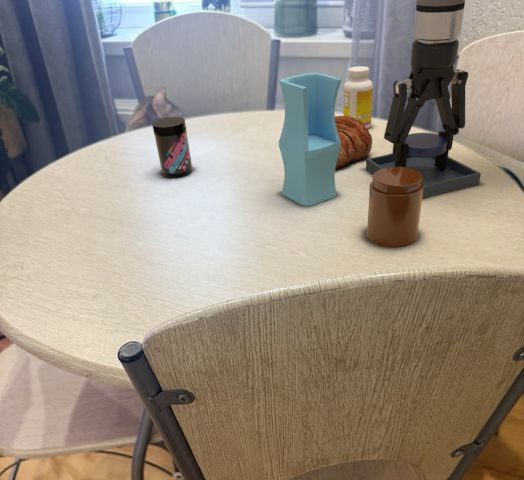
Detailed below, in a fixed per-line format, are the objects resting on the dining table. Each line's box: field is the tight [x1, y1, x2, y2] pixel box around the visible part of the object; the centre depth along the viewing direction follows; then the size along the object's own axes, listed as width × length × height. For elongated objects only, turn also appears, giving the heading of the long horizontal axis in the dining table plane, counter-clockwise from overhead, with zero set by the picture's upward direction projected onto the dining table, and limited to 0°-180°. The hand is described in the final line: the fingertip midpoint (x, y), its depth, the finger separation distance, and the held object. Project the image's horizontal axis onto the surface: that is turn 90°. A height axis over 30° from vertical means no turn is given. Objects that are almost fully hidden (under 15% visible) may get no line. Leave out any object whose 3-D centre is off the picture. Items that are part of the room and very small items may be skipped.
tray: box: [365, 153, 482, 199], centre depth 103 cm, size 17×14×2 cm
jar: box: [366, 167, 424, 248], centre depth 83 cm, size 8×8×10 cm
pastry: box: [335, 115, 373, 171], centre depth 112 cm, size 17×15×8 cm
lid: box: [405, 132, 447, 158], centre depth 100 cm, size 9×8×2 cm
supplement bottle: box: [342, 65, 374, 130], centre depth 125 cm, size 7×7×13 cm
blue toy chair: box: [278, 71, 343, 207], centre depth 94 cm, size 8×8×20 cm
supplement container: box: [151, 116, 193, 178], centre depth 111 cm, size 7×7×10 cm
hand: (419, 172), depth 103 cm, fingers closed on lid, 8 cm apart
